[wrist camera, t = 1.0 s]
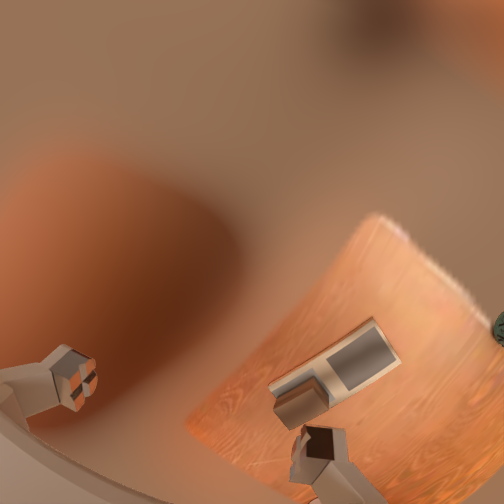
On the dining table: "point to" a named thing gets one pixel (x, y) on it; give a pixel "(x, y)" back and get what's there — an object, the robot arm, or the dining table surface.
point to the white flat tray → (345, 364)
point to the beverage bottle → (499, 329)
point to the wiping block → (301, 403)
